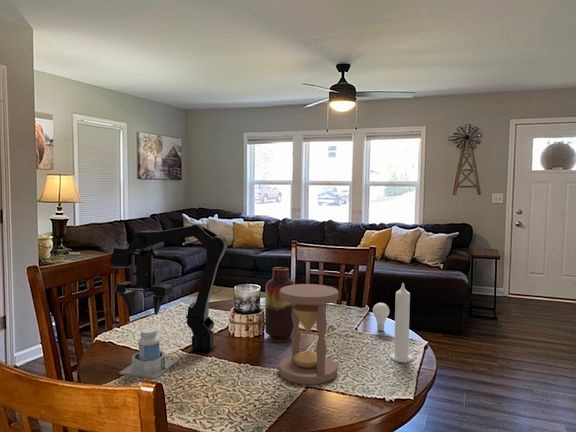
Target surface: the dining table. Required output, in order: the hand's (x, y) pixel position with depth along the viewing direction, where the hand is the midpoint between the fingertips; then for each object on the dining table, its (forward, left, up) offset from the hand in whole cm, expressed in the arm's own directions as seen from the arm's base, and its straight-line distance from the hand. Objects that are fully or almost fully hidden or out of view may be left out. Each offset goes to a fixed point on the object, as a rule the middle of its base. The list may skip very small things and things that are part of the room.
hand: (144, 313), depth 151 cm
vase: (-42, -22, -12) cm, 49 cm away
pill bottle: (-11, +15, -12) cm, 22 cm away
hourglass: (-58, +4, -12) cm, 59 cm away
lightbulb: (-77, -42, -12) cm, 89 cm away
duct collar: (-11, +15, -12) cm, 22 cm away
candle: (-85, -15, -12) cm, 87 cm away
